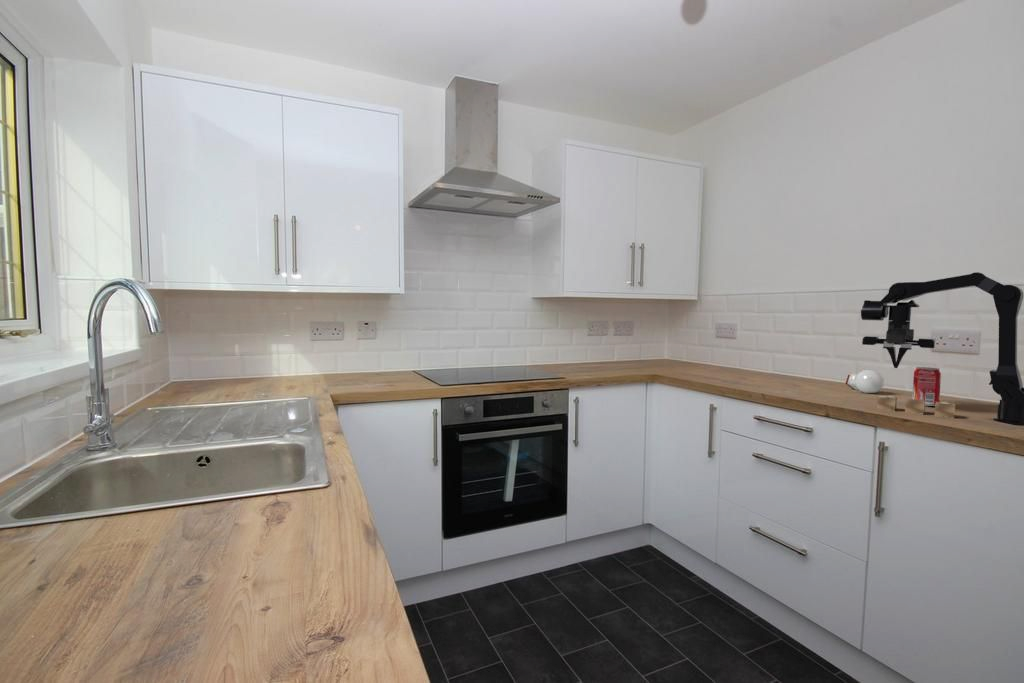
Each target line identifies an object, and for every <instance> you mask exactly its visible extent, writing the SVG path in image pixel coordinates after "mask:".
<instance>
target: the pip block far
mask: <svg viewBox="0 0 1024 683" xmlns="http://www.w3.org/2000/svg"><path fill="white" fill-rule="evenodd" d="M897 403H898V397H896V396H893V395H878V396H877V408H881V409H891V410H895V409H896V410H897ZM896 410H895V411H896Z"/></svg>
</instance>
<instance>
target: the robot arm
mask: <svg viewBox="0 0 1024 683" xmlns="http://www.w3.org/2000/svg"><path fill="white" fill-rule="evenodd" d="M972 287H976V288H978V289H979V290H982V291H983V292H986V293H988V294H989V295H991V296H992V298H993V302H994V305H995V308H996V312H997V315H998V357H997V358H998V364H997V367H996V369H991V370H990V371H989V375H990V380H989V381H990V382H989V383H988V384H989V385H990V386H991V388H992V390H993V392H995V393H996V394H997V395H999V396H1000V398H1001V399H999V404H997V415H996V418H992V420H993V421H995V422H996V421H997V422H1003V423H1005V424H1006V423H1007V424H1010V425H1016V426H1017V425H1019V426H1020V425H1022V426H1024V384H1023V380H1022V376H1021V373H1020V369H1019V367H1018V317H1019V313H1020V310H1021V307H1022V304H1023V300H1024V292H1023V290H1022V289H1021V288H1019V286H1016V285H1013V284H1003V283H1000V282H999V281H996V280H994V279H992V278H990V277H988V276H986V275H985V274H984V273H982V272H972V273H969V274H964V275H958V276H957V275H956V276H951V277H946V278H939V279H935V280H933V279H932V280H928V281H910V282H909V281H908V282H896V283H893V284H891V286H890V287H889V289H888V293H886V295H885V296H884V297H883V298H882V299H881V300H866V299H865V300H864V301H863V304H862V308H861V309H860V317H861V320H862V321H884V319H885V318H886V319H887V318H888V322H887V323H888V324H887V331H886V334H885V335H886V336H885V338H879V336H872V335H871V336H869V335H868V336H867V335H866V336H863V338H862V341H861V342H862V343H861V345H863V346H864V345H865V346H867V345H868V346H875V345H883V346H882V348H883V349H886V350H887V352H888V354H889V356H890V359H891V363H892V365H893V368H894V369H898V368H899V366H900V364H901V361H902V359H903V357H904V356H905V354H906V352H908V351H909V350H912V347H913V346H919V347H920V348H922V349H935V346H936V345H935V344H936V341H935V339H933V338H918V339H916V340H915V339H914V337H915V329H912V328H911V316H912V308H920V305H919V304H918V303H917V302H915V300H914V299H915V298H918V297H921V296H924V295H927V294H933V293H938V292H939V293H940V292H945V291H952V290H959V289H964V288H972ZM905 301H907V302H905ZM889 304H891V305H889ZM894 304H896V305H894ZM896 345H897V346H900V347H899V348H898V354H897V352H896Z"/></svg>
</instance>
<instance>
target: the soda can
mask: <svg viewBox="0 0 1024 683" xmlns="http://www.w3.org/2000/svg"><path fill="white" fill-rule="evenodd" d="M941 378H942V374H941V371H940V368H938V367H929V366H928V367H927V366H916V367H915V369H914V372H913V383H912V398H911V399H915V400H925V406H935V403H936V402H940V400H941V399H940V396H941V395H940V394H941V381H942V380H941Z"/></svg>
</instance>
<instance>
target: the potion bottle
mask: <svg viewBox="0 0 1024 683" xmlns="http://www.w3.org/2000/svg"><path fill="white" fill-rule="evenodd" d="M884 380H885V379H884V377H883V375H882V374H881V373H880V372H878V371H876V370H874V369H863V370H860V371H859V372H857V373H850V374H848V375H847V377H846V380H845V385H846V386H848V387H850V388H851V389H852V390H855V389H856V390H855V391H860V392H862V393H864V394H876V393H878V392H880V391H881V390H882V388H883V387H884V386H885V381H884Z"/></svg>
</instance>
